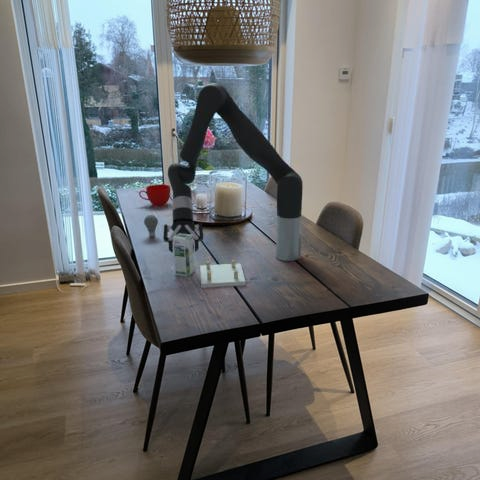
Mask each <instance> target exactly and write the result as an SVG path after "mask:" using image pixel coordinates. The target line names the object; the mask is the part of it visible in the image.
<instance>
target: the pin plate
mask: <svg viewBox="0 0 480 480" xmlns="http://www.w3.org/2000/svg"><path fill="white" fill-rule="evenodd" d="M199 267H200V268H199V270H200V286H201V289H202V288H205V289H206V288H216V287H217V288H219V287H239V286H240V287H241V286H246V279H245V275H244V272H243V268H242V264H241V263H236V260H235V259H232V260H231V263H225V264H223V263H221V264H211V261H206V262H205V264H202V265H201V264H200V266H199Z"/></svg>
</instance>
